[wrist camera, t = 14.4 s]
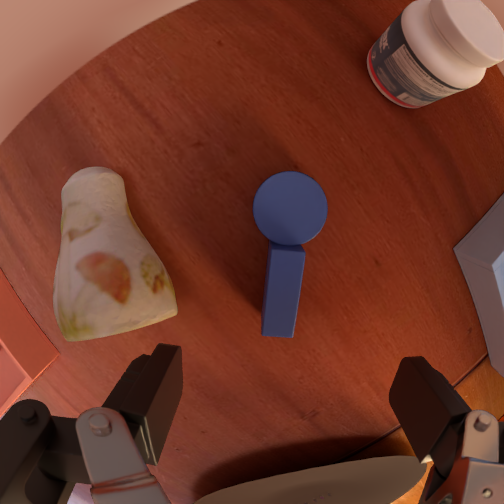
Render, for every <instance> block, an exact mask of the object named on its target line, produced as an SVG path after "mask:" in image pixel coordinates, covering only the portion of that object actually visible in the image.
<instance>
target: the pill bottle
mask: <svg viewBox="0 0 504 504" xmlns="http://www.w3.org/2000/svg"><path fill="white" fill-rule="evenodd" d="M503 60H504V31H503V29H502V27H501V26H500V24H499V22H498V20H497V19H496V18H495V16H494V15H493V14H492V12H491V11H490V10H489V9H488V8H487V7H486V6H485V5H484V4H483V3H482V2H481V1H480V0H417V1H414V2H412V3H411V4H409V5H408V6H407V7H406V8H405V9H404V10H403V11H402V12H401V14H400V15H399V16H398V17H397V18H396V19H395V20H394V22H393V23H392V24H391V25H390V26H389V27H388V28H387V29H386V31H385V32H384V33H383V34H382V35H381V36H380V38H379V39H378V40H377V41H376V42H375V43H374V44H373V46H372V47H371V49H370V50H369V53H368V56H367V67H368V71H369V74H370V77H371V79H372V81H373V83H374V84H375V86H376V87H377V88H378V90H379V91H380V92H381V93H382V94H383V95H384V96H385V97H386V98H388V99H389V100H390V101H392V102H394V103H395V104H397V105H400V106H403V107H406V108H420V107H423V106H426V105H428V104H430V103H432V102H435V101H437V100H439V99H442V98H444V97H447V96H449V95H452V94H454V93H457V92H459V91H463V90H466V89H468V88H470V87H472V86H475V85H476V84H478V83H479V82H480V81H481V80H482V78H483V77H484V74H485V71H486V68H488V67H491V66H493V65H495V64H497V63H499V62H501V61H503Z"/></svg>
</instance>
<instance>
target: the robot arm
mask: <svg viewBox="0 0 504 504" xmlns="http://www.w3.org/2000/svg"><path fill="white" fill-rule="evenodd" d="M182 389H183V372H182V350H181V347H180V346H175V345H169V344H163V343H159V344H158V345H157V347H156V348H155V350H154V351H153V353H152V355H151V356H150V355H145V354H143V355H141V356H139V357H138V358H136V359H135V360H133V361H132V362H131V364H130V365H129V366H128V368H127V369H126V372H124V374H123V375H122V377H121V380H119V381H118V383H117V384H116V386H115V387H114V389H113V390H112V392H111V393H110V395H109V396H108V398H107V399H106V401H105V402H104V404H103V405H102V407H96V408H91V409H88V410H86V411H84V412H83V413H82V414H80V416H79V417H78V418H66V417H58V416H51V414H50V412H49V409H48V408H47V406H46V405H45V404H44V403H42V402H40V401H38V400H33V399H26V400H22V401H19V402H17V403H15V404H14V405H13V406H12V407H11V408H10V409H9V411H8V412H7V413H6V414H5V415H4V417H3V418H2V419H1V420H0V504H67V502H68V500H69V497H70V495H71V493H72V490H73V488H74V486H75V484H76V483H84V484H91V485H92V488H90V492H91V495H92V499H93V501H94V504H171V502H170V500H169V499H168V497H167V496H166V494H165V492H164V491H163V489H162V487H161V486H160V484H159V482H158V481H157V479H156V478H155V476H154V475H151V473H150V471H149V470H148V468H147V466H146V463H147V464H151V465H155V466H157V464H158V461H159V458H160V455H161V452H162V449H163V446H164V444H165V441H166V438H167V435H168V432H169V429H170V427H171V424H172V421H173V418H174V415H175V412H176V410H177V407H178V404H179V401H180V398H181V395H182ZM389 402H390V405H391V407H392V409H393V411H394V413H395V415H396V417H397V419H398V421H399V423H400V424H401V426H402V428H403V430H404V432H405V434H406V436H407V438H408V440H409V442H410V444H411V446H412V448H413V450H414V452H415V454H416V456H417V458H418V461H419V463H420V464H422V463H426V462H429V461H433V462H434V464H433V466H432V467H431V469H430V471H429V474H428V477H427V480H426V483H425V486H424V489H423V492H422V495H421V497H420V500H419V503H418V504H504V421H501V422H498V421H497V420H496V418H495V417H494V416H493V415H492V414H490V413H489V412H487V411H484V410H473V411H472V410H471V409H470V407H469V406H468V405H467V404H466V402H465V401H464V400H463V399H462V397H461V396H460V395H459V394H458V393H457V391H456V390H454V388H453V386H452V385H451V384H449V382H448V380H447V379H446V378H445V377H444V376H443V375H442V374H441V373H440V372H438V371H437V370H435V369H434V368H432V366H431V365H430V364H429V363H428V362H427V360H426V359H425V358H424V357H422V356H415V357H405V358H403V359H402V360H401V362H400V365H399V368H398V370H397V373H396V376H395V378H394V381H393V383H392V386H391V388H390V391H389Z"/></svg>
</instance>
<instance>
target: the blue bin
mask: <svg viewBox="0 0 504 504" xmlns="http://www.w3.org/2000/svg"><path fill="white" fill-rule="evenodd" d="M453 250H454V252H455V255H456V257H457V259H458V262H459V264H460V266H461V269H462V271H463V274H464V277H465V279H466V282H467V284H468V287H469V290H470V293H471V295H472V298H473V301H474V304H475V307H476V310H477V314H478V317H479V320H480V323H481V327H482V330H483V334H484V337H485V341H486V345H487V349H488V353H489V358H490V362H491V366H492V367H493V368H494V369H495V370H496V371H497V372H498V373H499V374H500V375H501V376H503V377H504V193H503V194H502V196H501V197H500V198H499V199H498V200H497V202H496V203H495V204H494V205H493V206H492V207H491V209H490V210H489V211H488V212H487V213H486V214H485V215H484V216H483V218H482V219H481V220H480V221H479V222H478V223H477V224H476V225H475V226H474V227H473V228H472V230H471V231H470V232H469V233H468V234H467V235H466V236H465V237H464V238H463V239H462V240H461V241H460V242H459V243H458V244H457V245H456V246H455V247H454V248H453Z"/></svg>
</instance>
